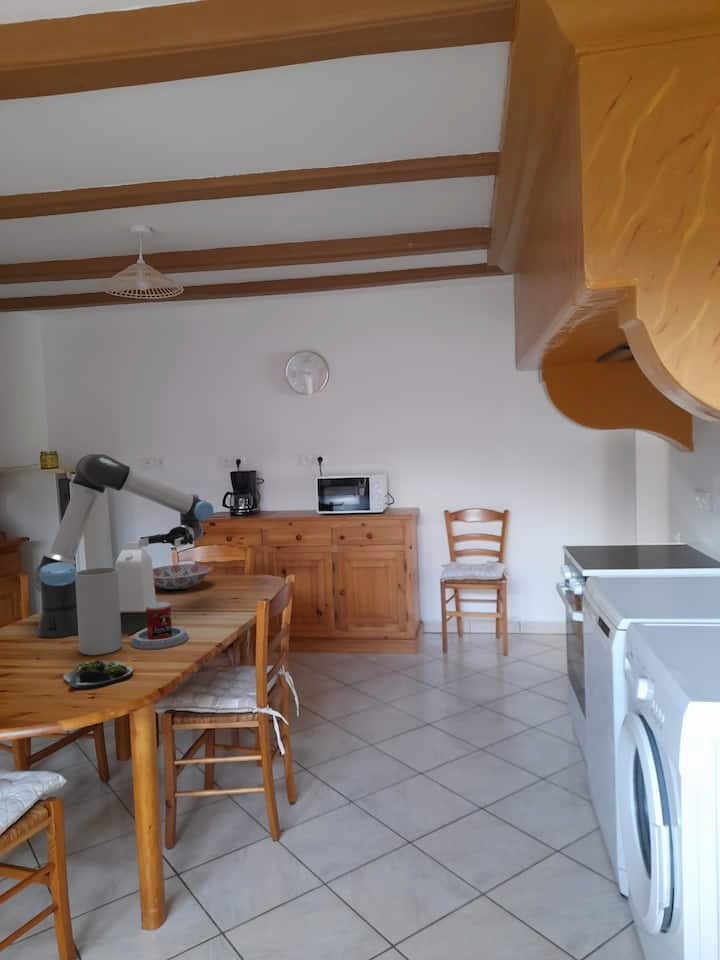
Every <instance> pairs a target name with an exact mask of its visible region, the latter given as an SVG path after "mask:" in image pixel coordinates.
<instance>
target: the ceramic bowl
mask: <svg viewBox="0 0 720 960" xmlns="http://www.w3.org/2000/svg"><path fill="white" fill-rule="evenodd" d="M211 571H212V567H211V566H209V565H207V564H196V563H195V564H194V563H193V564H186V563H185V564H173V565H164V566H158V567H153V577H154V586H156V587H158V588H160V589H163V590H164V589H166V590H181V589H182V590H183V589H189V588H192V587H195V586H197V585H198V584H200V583H201V582H202V581H204V579H205V578H206V577H207V574H208V573H209V572H211Z"/></svg>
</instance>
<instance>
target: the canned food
mask: <svg viewBox="0 0 720 960" xmlns="http://www.w3.org/2000/svg"><path fill="white" fill-rule="evenodd" d="M145 612H146V613H145V614H146V630H147V633H148V639H149V640H156V639H165V638H169V637H171V636H172V627H173V626H172V625H173V624H172V607H171V602H167V601H156V603H151V604H148V605H147V606H146V611H145Z"/></svg>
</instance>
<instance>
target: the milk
mask: <svg viewBox="0 0 720 960" xmlns="http://www.w3.org/2000/svg"><path fill="white" fill-rule="evenodd" d="M151 557H152V556H150V555H149V553H148V552H147V551H146V549H144V547H141V548H139V541H132V542H131V541H130V542H127V541H126V542H124V543H123V546H122V550H121V552H120V553H119V555H118V557H117V558H116V560H115V563H114V568H117V569H118V581H119V600H120V612H146V606H147V605H148V604H151V603H156V602H157V597H156V589H155V584H154V577H153V569H154V567H153V561H152V558H151Z"/></svg>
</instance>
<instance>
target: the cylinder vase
mask: <svg viewBox="0 0 720 960" xmlns="http://www.w3.org/2000/svg"><path fill="white" fill-rule="evenodd" d="M75 582H76V600H77V617H78V648H79V649H78V650H79V653H81V655H85V656H102V655H108V654H111V653H113V652H116V651H119V650H120V649H121V648H122V646H123V645H122V644H123V641H122V640H123V639H122V623H121V619H122V618H121V611H120V600H119V581H118V569H117V568H115V567H96V568H95V567H94V568H87V569H82V570H78V571H77V572H76V573H75Z"/></svg>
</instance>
